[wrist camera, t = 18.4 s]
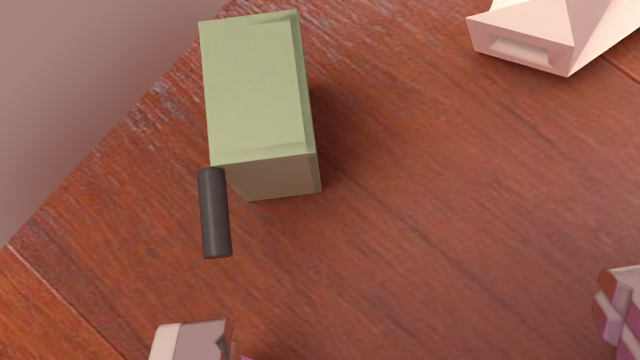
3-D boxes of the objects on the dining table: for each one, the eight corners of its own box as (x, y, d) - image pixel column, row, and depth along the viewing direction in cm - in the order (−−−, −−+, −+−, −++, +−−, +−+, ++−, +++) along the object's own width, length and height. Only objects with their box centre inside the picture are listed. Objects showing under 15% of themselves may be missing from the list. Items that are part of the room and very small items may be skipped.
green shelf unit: (239, 267, 40) (199, 257, 28) (223, 96, 43) (181, 23, 31) (330, 255, 40) (327, 240, 28) (308, 85, 43) (297, 8, 31)
